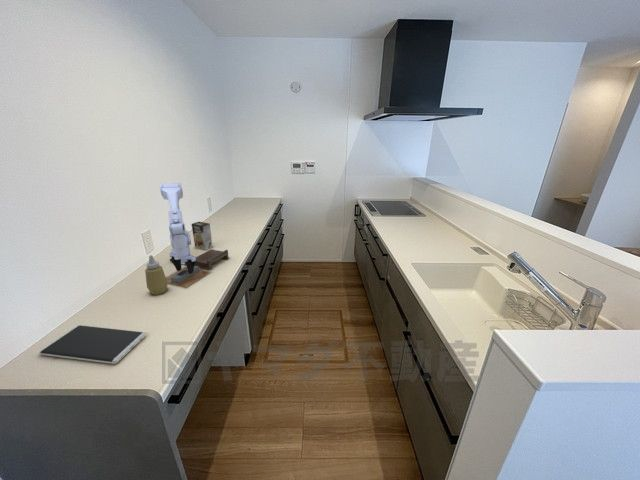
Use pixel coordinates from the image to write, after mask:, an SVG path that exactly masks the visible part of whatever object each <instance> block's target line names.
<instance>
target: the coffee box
mask: <svg viewBox="0 0 640 480" xmlns="http://www.w3.org/2000/svg"><path fill="white" fill-rule="evenodd" d="M190 225H191V230H192V234H193V235H192V236H193V242H194V248H195V249H199V250H204V251H208V250H210V249H212V248H213V239H212V230H211V223H210V222H204V221H196V222H193V223H191V224H190Z"/></svg>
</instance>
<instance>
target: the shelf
mask: <svg viewBox="0 0 640 480" xmlns="http://www.w3.org/2000/svg"><path fill="white" fill-rule="evenodd" d="M195 257H196V260H197V261H196V263H195V265H194V266H198V267H199V269H200V270H205V271H211V270H212V265H213V264H214V263H216V262H218V261H219V260H221V259H223V260H229V259H230V258H229V257H230V256H229V250H228V249H225V250H218V249H213V248H210V249H208V250H206V251H205V252H204V253H201V254H199V255H198V256H195Z"/></svg>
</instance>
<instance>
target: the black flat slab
mask: <svg viewBox="0 0 640 480" xmlns="http://www.w3.org/2000/svg"><path fill="white" fill-rule="evenodd" d="M145 337H146V332H143V331H135V330H126V329H116V328H109V327H108V328H107V327H98V326H89V325H81V324H80V325H76V326H75V327H73V328H71V329H70V330H69V331H67V332H65V333H64V334H63V335H61V336H60V337H58V338H57V339H55V340H54V341H52V342H50V343H49V344H48V345H45V347H42V349H40V350H39V354H40V355H41V356H46V357H47V356H49V357H55V358H56V357H57V358H64V359H72V360H79V361H88V362H97V363H103V364H112V365H114V364H117V363H119V362H120V361H121V360H122V359H123V358H124V357H125V356H126V355H127V354H128V353H129V352H130V351H131V350H132V349H134V347H135V346H137V345H138V344H139V343H140V342H141V341H142V340H143V339H144V338H145Z"/></svg>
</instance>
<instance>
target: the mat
mask: <svg viewBox="0 0 640 480" xmlns="http://www.w3.org/2000/svg"><path fill="white" fill-rule="evenodd" d="M185 269H187V266H185V267H183V268H181V270H180V271H176V272H174V273H172V274H170V275H168V276H165V277H166V280H167V284H169V285H172V286H173V285H174V286H178V287H181V288H186V289H187V288H188V287H190V286H191V285H193V284H195V283H196V282H198V281H200V280H201V279H203V278H204V277H206V276H207V275H209V274H210V273H211V271H208V270H204V269H200V271H199V272H197V273H195V274H194V275H192V276H190V277H189V278H187V279H185V280H184V281H182V282H180V283H179V284H178V283H174V282H171V277H172V276H174V275H176V274H177V273H179V272H181V271H183V270H185Z"/></svg>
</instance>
